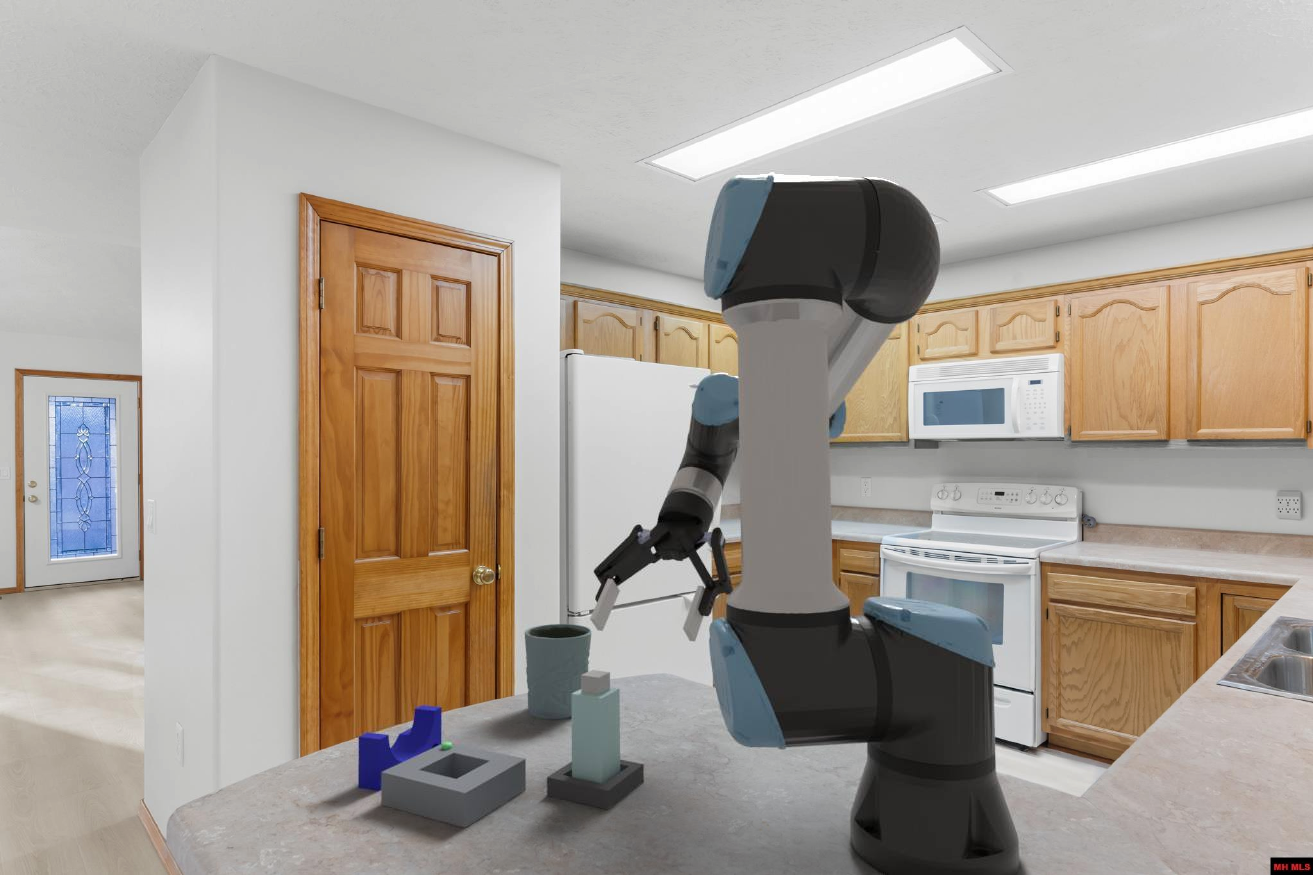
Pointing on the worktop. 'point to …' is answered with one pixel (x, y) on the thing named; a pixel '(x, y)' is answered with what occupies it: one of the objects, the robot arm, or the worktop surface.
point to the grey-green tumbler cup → (555, 667)
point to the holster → (595, 785)
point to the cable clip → (397, 746)
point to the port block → (453, 783)
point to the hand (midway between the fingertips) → (640, 630)
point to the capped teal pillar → (596, 728)
